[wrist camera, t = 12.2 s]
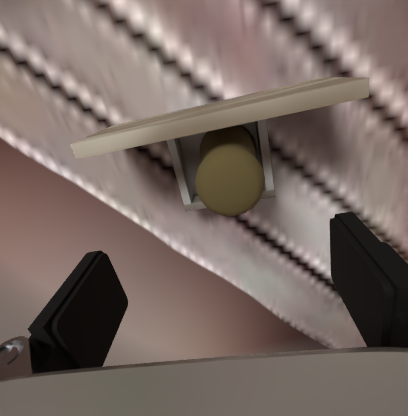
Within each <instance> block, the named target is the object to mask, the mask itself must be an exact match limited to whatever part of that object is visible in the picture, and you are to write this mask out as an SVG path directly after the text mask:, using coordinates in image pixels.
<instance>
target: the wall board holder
mask: <svg viewBox="0 0 408 416" xmlns="http://www.w3.org/2000/svg"><path fill="white" fill-rule="evenodd" d="M368 96H369V78H335V77H323V78H318V79H314V80H310V81H305V82H301V83H297V84H292V85H288V86H283V87H279V88H275V89H270V90H266V91H262V92H257V93H253V94H249V95H244V96H240V97H236V98H231V99H227V100H223V101H218V102H214V103H209V104H205V105H201V106H196V107H192V108H188V109H183V110H179V111H175V112H170V113H166V114H162V115H157V116H153V117H148V118H144V119H140V120H135V121H131V122H127V123H122V124H118V125H114V126H111V127H109V128H106V129H104V130H102V131H100V132H97V133H95V134H93V135H91V136H89V137H86V138H84V139H82V140H80V141H77V142H75V143H73V144H71V145H70V146H71V148H72V150H73V153H74V155H75V157H76V159H81V158H85V157H90V156H95V155H100V154H104V153H109V152H114V151H118V150H123V149H128V148H132V147H137V146H142V145H146V144H151V143H156V142H160V141H165V140H166V142H167V145H168V149H169V153H170V156H171V160H172V163H173V167H174V171H175V174H176V178H177V181H178V185H179V189H180V192H181V196H182V199H183V203H184V207H185V210H186V211H192V210H198V209H204V208H207V207H206V206H205V205H204V204H203V203H202V201H201V200H200V198H199V196H198V193H197V190H196V182H195V178H196V174H197V171H198V168H199V165H200V164H201V159H200V144H201V141H202V138H203V137H204V135H205V134H206V132H207V131H212V130H217V129H221V128H226V127H231V126H235V125H242V126H244V127H245V128H246V129H248V130H249V131H250V133H251V134H252V136H253V137H254V140H255V144H256V159H257V160H258V162H259V163H260V165H261V166H262V169H263V172H264V176H265V185H264V191H263V193H262V196H261V198H260V199H263V198H269V197H275V193H274V184H273V175H272V166H271V157H270V149H269V140H268V131H267V122H266V119H268V118H273V117H277V116H282V115H287V114H291V113H296V112H301V111H305V110H310V109H315V108H320V107H324V106H329V105H334V104H338V103H343V102H348V101H352V100H357V99H362V98H366V97H368Z"/></svg>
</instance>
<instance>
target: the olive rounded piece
mask: <svg viewBox="0 0 408 416" xmlns="http://www.w3.org/2000/svg"><path fill="white" fill-rule="evenodd" d="M200 159H201V164H200V165H199V168H198V171H197V174H196V178H195V182H196V190H197V193H198V196H199V198H200V200H201V201H202V203H203V204H204V205H205V206H206V207H207V208H208V209H210V210H211V211H213V212H214V213H217V214H220V215H224V216H235V215H239V214H243V213H245V212H247V211H248V210H250V209H252V208H253V207H254V206H255V205H256V204H257V203H258V201H259V200H260V198H261V196H262V193H263V191H264V185H265V176H264V172H263V169H262V166H261V165H260V163H259V162H258V160H257V159H256V144H255V140H254V137H253V136H252V134H251V133H250V131H249V130H248V129H246V128H245V127H244V126H242V125H235V126H231V127H226V128H221V129H217V130H212V131H207V132H206V134H205V135H204V137H203V138H202V141H201V144H200Z"/></svg>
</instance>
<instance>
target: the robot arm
mask: <svg viewBox="0 0 408 416" xmlns="http://www.w3.org/2000/svg"><path fill="white" fill-rule="evenodd" d="M330 254H331V277H332V280H333V283H334V285H335V287H336V289H337V290H338V292H339V294H340V296H341V298H342V300H343V302H344V304H345V305H346V307H347V309H348V311H349V313H350V315H351V317H352V319H353V321H354V322H355V324H356V326H357V328H358V330H359V332H360V334H361V336H362V337H363V339H364V341H365V343H366V345H367V347H362V348H342V349H325V350H309V351H296V352H295V351H294V352H281V353H267V354H254V355H241V356H228V357H214V358H202V359H191V360H190V359H189V360H177V361H165V362H153V363H140V364H129V365H118V366H106V367H102V366H103V363H104V361H105V359H106V357H107V354H108V352H109V349H110V347H111V345H112V342H113V340H114V337H115V335H116V333H117V330H118V328H119V325H120V323H121V321H122V318H123V316H124V314H125V311H126V309H127V306H128V299H127V296H126V294H125V292H124V290H123V288H122V285H121V284H120V281H119V279H118V277H117V274H116V272H115V270H114V268H113V266H112V264H111V261H110V259H109V257H108V255H107V254H105V253H103V252H102V251H94V252H89V253H87V254H86V255H85V256H84V257H83V259H82V260H81V261H80V262H79V264H78V265H77V266H76V268H75V269H74V270H73V272H72V273H71V274H70V275H69V277H68V278H67V279H66V281H65V282H64V283H63V284H62V286H61V287H60V288H59V290H58V291H57V292H56V293H55V295H54V296H53V297H52V298H51V300H50V301H49V302H48V304H47V305H46V306H45V307H44V309H43V310H42V311H41V313H40V314H39V315H38V316H37V318H36V319H35V320H34V322H33V323H32V324H31V325H30V327H29V328H28V330H29V332H30V333H31V334H32V335H31V336H30V338H29V339H28V338H26V337H24V336H18V337H15V338H12V339H10V340H8V341H6V342H4V343H2V344H1V345H0V416H408V264H407V263H406V262H405V261H404V260H403V259H402V258H401V257H400V255H399V254H398V253H397V252H396V251H395V250H394V249H393V248H392V247H391V246H390V245H388V244H387V243H385V242H381V241H380V240H379V239H378V238H377V237H376V236H375V235H374V234H373V233H372V232H371V231H370V230H369V229H368V228H367V227H366V226H365V225H364V224H363V223H362V221H361V220H360V219H359V218H358V217H357V216H356V215H355V214H354V213H353V212H346V213H340V214H335V217H334V218H332V219H330Z"/></svg>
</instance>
